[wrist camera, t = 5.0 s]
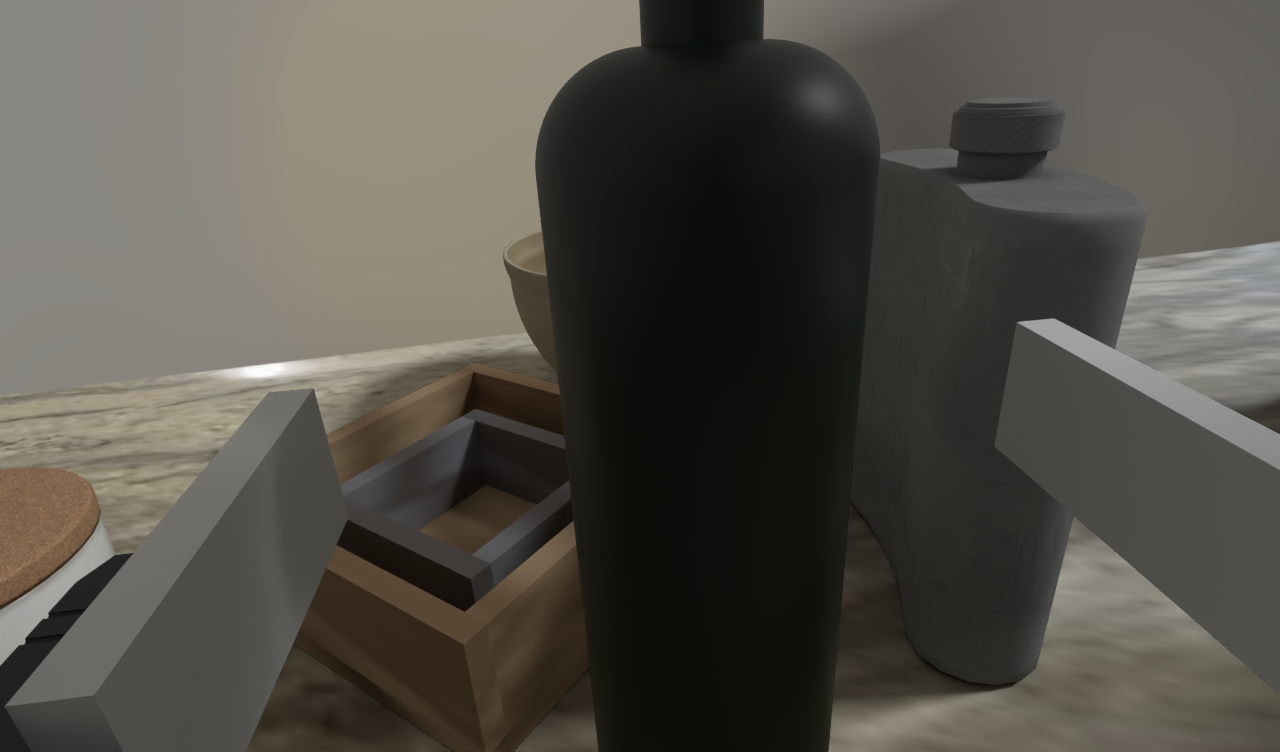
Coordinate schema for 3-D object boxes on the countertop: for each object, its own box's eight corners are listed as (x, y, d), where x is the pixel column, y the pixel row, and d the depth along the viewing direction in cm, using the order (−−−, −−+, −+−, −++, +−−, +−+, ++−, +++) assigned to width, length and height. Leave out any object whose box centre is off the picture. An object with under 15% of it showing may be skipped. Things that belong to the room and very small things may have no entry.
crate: (488, 450, 44) (473, 362, 42) (714, 527, 36) (713, 423, 33) (238, 606, 32) (198, 497, 30) (490, 776, 24) (463, 644, 22)
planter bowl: (492, 375, 55) (471, 237, 50) (670, 331, 62) (665, 206, 57) (577, 467, 42) (559, 292, 37) (790, 398, 49) (797, 243, 44)
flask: (1087, 688, 26) (1255, 112, 18) (927, 691, 26) (1020, 124, 18) (938, 470, 40) (994, 87, 31) (833, 474, 40) (862, 94, 32)
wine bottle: (642, 774, 24) (549, -482, 11) (817, 810, 22) (930, -579, 10) (588, 970, 19) (318, -900, 6) (810, 1033, 17) (1024, -1221, 5)
